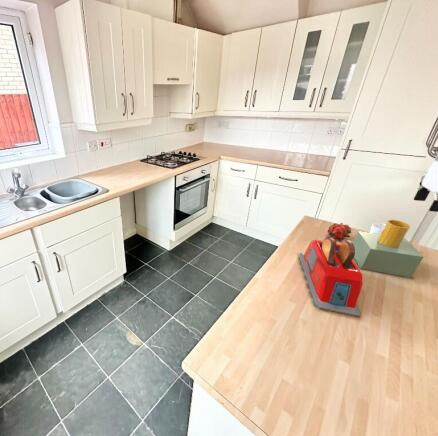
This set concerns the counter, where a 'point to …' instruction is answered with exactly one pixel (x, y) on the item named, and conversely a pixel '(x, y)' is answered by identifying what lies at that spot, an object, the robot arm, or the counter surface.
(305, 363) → the counter surface
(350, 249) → the toaster
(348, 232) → the dragon fruit
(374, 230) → the white cup
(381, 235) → the cup
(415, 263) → the shelf
